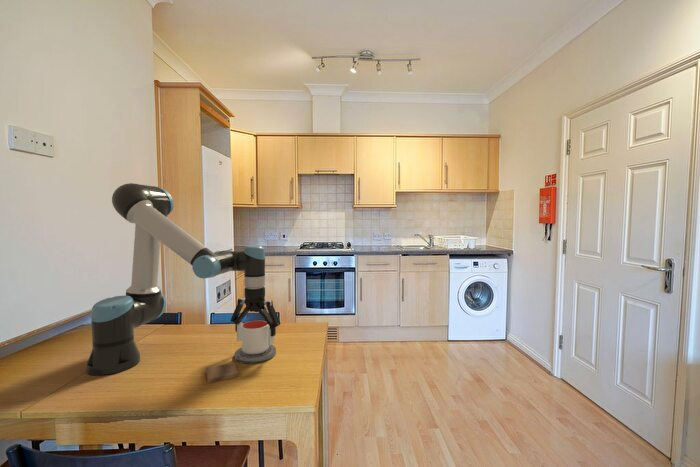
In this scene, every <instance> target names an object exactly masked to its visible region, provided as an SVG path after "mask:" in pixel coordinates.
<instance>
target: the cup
mask: <svg viewBox="0 0 700 467" xmlns="http://www.w3.org/2000/svg"><path fill="white" fill-rule="evenodd" d="M269 327H270V326H269V325H268V323H267V322H266V321H265V320H252V321H251V320H250V321H246V322H243V325H242V326H241V335H242V340H241V347H242V351H243V352H244V353H245V354H249V355H256V354H260V353H263V352H265V351H266V350H267V349H268V348H269V346H268V328H269Z"/></svg>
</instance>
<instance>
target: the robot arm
mask: <svg viewBox="0 0 700 467" xmlns="http://www.w3.org/2000/svg"><path fill="white" fill-rule="evenodd" d="M111 203H112V207H113V208H114V210H115V211H116V212H117V214H119V215H120V216H121V217H122V218H124V220H126V222H128V223H131V224H135V225H134V226H135V227H134V240H133V242H134V243H133V252H132V253H133V254H132V255H133V256H132V268H131V270H132V271H131V272H132V273H131V282H130V283H131V284H130V286H129V287H128V288H126V290H125V295H117V296H115V295H114V296H113V297H107V298H104V299H101V300H99V301H97V302H96V303H94V305H93V306H91V315H90V319H91V336H92V349H91V351H90V354H89V356H88V360H87V361H86V362H87V363H86V373H87V375H91V376H105V375H106V376H107V375H112V374H117V373H120V372H123V371H126V370H129V369H131V368H133V367H135V366H136V365H138V364H139V363H140V361H141V354H140V351H139V349H138V348H139V347H138V346H137V344H136V342H135V339H134V338H135V337H134V336H135V335H134V334H135V333H134V331H135V330H134V329H136V328H138V327H141V326H143V325H145V324H147V323H151V322H153V321H155V320H157V319H158V318H160V317H161V316H162V315H163V314H164V312H165V310H166V307H167V299H166V297H165V296H164V293H162V288H161V287H160V286H159V285H158V277H159V267H160V266H159V264H160V254H161V253H160V252H161V251H160V248H161V243H162V244H163V245H164V246H166V247H167V249H170V251H173V253H175V254H176V255H178V256H179V257H180V258H182V259H183V260H184V261H185V262H186V263H188V264H190V265H191V267H192V271H193V273H194V275H195V276H196V277H198V278H200V279H211V278H215V277H216V276H220V275H222V274H225V273H228V272H243V274H244V277H243V278H244V279H243V280H244V282H243V283H244V284H243V286H244V297H241V298H238V299H237V301H236V302H237V304H236V307H235V309H234V311H233V313H232V316H231V318H230V322H231V323H234V325H235V326H234V328H235V333H236V342H241V341H242V335H241V326H242V325H243V324H244V322H243V320H244V318H245V317H246V316H247V315H248V313H249V312H252V313H253V312H254V313H259V314H260V315H261V316H262V318H263V319H264V321H266V322H267V323H268V325H269V328H268V346H270V345H273V344H274V343H275V342H274V341H275V336H276V333H277V330H276V328H277V327H278V326H280V325H281V322H280V319H279V317H278V314H277V312H276V310H275V307H274V303H273V300H272V299H269V300H266V287H265V285H266V254H265V253H266V252H265V248H264V246H262V245H246V246H245V247H244V248H243V250H241V251H239V250H238V251H236V250H218V251H212V250H210V249H209V248H208V247H207V246H206V245H204V244H203V243H201V242H200V241H198V239H196V238H195V237H193V236H192V235H190V234H189V233H188V232H187V231H186V230H184V229H183V228H181V227H180V226H179V225H178V224H176V223H175V222H173V221H172V220H171V219H170V218H168V216H169V215H170V214H171V213H172V212H173V210H174V207H175V203H174V198H173V196H172V195H171V194H170V192H169V191H168V190H167V189H165V188H162V187H158V186H154V185H145V184H139V183H133V182H132V183H125V184H122V185H120V186H117V188H116V189H115V190H114V191H113V193H112V195H111ZM244 304H245V307H244ZM243 307H244V308H243ZM242 309H243V310H242ZM241 311H242V312H241Z"/></svg>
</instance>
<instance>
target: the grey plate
mask: <svg viewBox="0 0 700 467" xmlns="http://www.w3.org/2000/svg"><path fill="white" fill-rule="evenodd" d="M276 353H277V348H276V346H274V345H273V344H272V345H270V346H269V348H268V349H267V350H266V351H265V352H263V353H260V354H256V355H249V354H245V353H244V352H243V351H242V346H241V347H239V348H238V349H237V350H235V352H234V360H235V361H236V362H237V363H241V364H246V365H247V364H248V365H252V364H254V365H255V364H259V363H265V362H267V361H270V360H271V359H273V358H274V357H275V356H276V355H277V354H276Z"/></svg>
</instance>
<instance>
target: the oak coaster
mask: <svg viewBox="0 0 700 467" xmlns="http://www.w3.org/2000/svg"><path fill="white" fill-rule="evenodd" d="M205 372H206V378H207V384H211V383H215V382H219V381H220V382H221V381H224V380H228V379H229V380H230V379H232V378H238V377H239V372H238V369H237V367H236V364H235V362H228V363H223V364H218V365H212V366H208V367H205Z"/></svg>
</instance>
